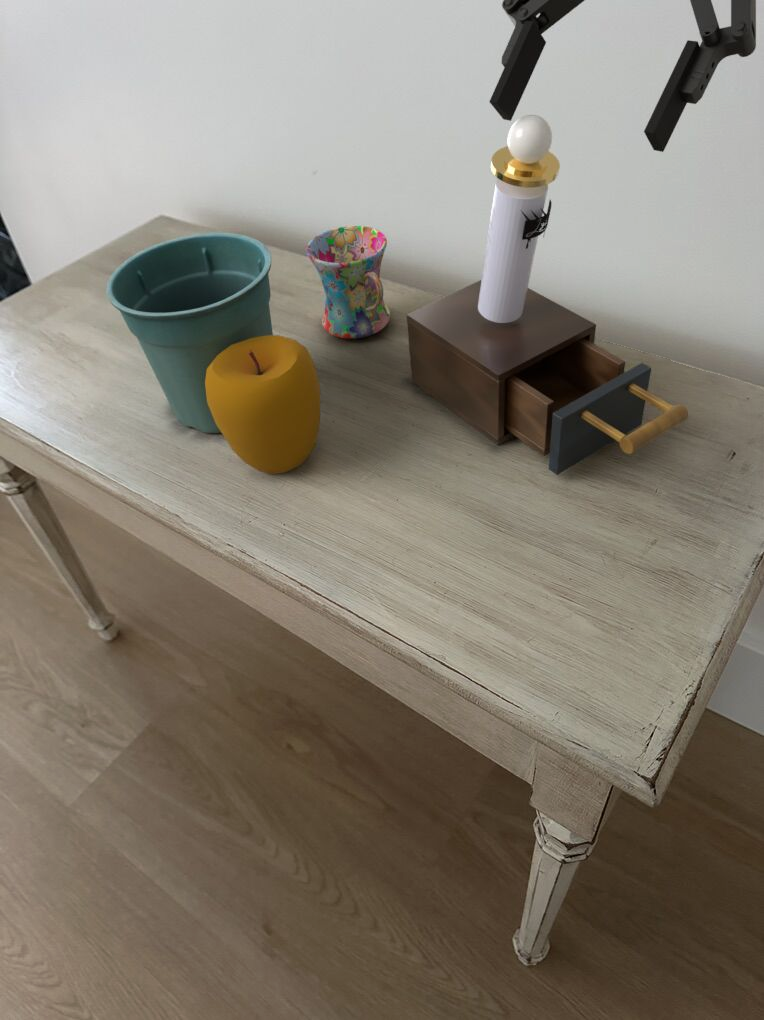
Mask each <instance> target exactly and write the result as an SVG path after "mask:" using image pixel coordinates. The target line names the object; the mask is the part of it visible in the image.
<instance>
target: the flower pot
mask: <svg viewBox="0 0 764 1020" xmlns="http://www.w3.org/2000/svg"><path fill="white" fill-rule="evenodd" d="M271 267H272V255H271V252H270V250H269V248H268V247H267V246H266V245H265V244H264V243H263V242H261V241H259V240H258V239H256V238H254V237H251V236H248V235H244V234H240V233H235V232H206V233H196V234H190V235H185V236H180V237H176V238H173V239H168V240H166V241H162V242H159V243H157V244H153V245H152V246H149V247H147V248H145V249H143V250H141V251H139V252H136V254H134V255H132V256H130V257H129V258H127V259H126V260H125V261H123V262H122V263H121V264H120V265H119V266H118V267H117V268H116V269H115V270H114V272H112V274H111V275H110V277H109V279H108V281H107V284H106V288H105V293H106V297H107V298H108V300H109V302H110V303H111V305H112V306H113V307H114V308H115V309H117V310H118V311H119V312H120V314H121V316H122V318H123V320H124V322H125V324H126V326H127V328H128V330H129V331H130V333H131V334H132V335H133V336H134V337H136V339H137V341H138V343H139V345H140V347H141V349H142V351H143V353H144V355H145V357H146V359H147V361H148V364H149V365H150V367H151V369H152V371H153V373H154V375H155V377H156V379H157V381H158V383H159V385H160V387H161V389H162V391H163V393H164V394H163V395H164V396H165V398H166V399H167V402H168V404H169V406H170V408H171V410H172V412H173V414H174V416H175V418H176V420H177V421H178V422H179V423H180V424H181V425H182V426H184V427H185V428H190V427H191V428H194V429H196V430H198V431H199V432H201V433H205V434H206V433H207V434H219V433H221V431H220V430H219V428H218V426H217V425H216V423H215V420H214V418H213V415H212V413H211V411H210V408H209V406H208V403H207V396H206V388H205V379H206V371H207V368H208V367H209V365H210V364H211V363H212V362H213V360H214V359H215V358H216V357H217V355H219V354H220V353H221V352H222V351H223V350H225V349H226V348H228V347H229V346H230V345H232V344H235V343H238V342H241V341H244V340H247V339H250V338H254V337H260V336H265V335H274V333H273V325H272V317H271V308H270V302H271V296H272V295H271V285H270V278H269V276H270V275H269V273H270V271H271Z"/></svg>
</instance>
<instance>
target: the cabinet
mask: <svg viewBox="0 0 764 1020" xmlns="http://www.w3.org/2000/svg"><path fill="white" fill-rule="evenodd" d="M481 280H482V279H480V280H478V281H475V282H473V283H472V284H469V285H467V286H465V287H463V288H460V289H458V290H456V291H454V292H452V293H450V294H448V295H446V296H443V297H441V298H439V299H437V300H435V301H433V302H430V303H428V304H426V305H423V306H422V307H420V308H417V309H416V310H413V311H411V312H409V313H407V314H406V325H407V336H408V337H407V339H408V352H409V360H410V361H409V362H410V375H411V382H412V383H413V384H415V385H416V386H417V387H419V388H420V389H421V390H423V391H424V392H425V393H427V394H428V395H429V396H431V397H432V398H433V399H435V400H436V401H437V402H439V403H440V404H442V405H443V406H444V407H445V408H446V409H448V410H449V411H451V412H452V413H454V414H455V415H456V416H457V417H459V418H460V419H462V420H463V421H464V422H466V423H467V424H469V425H470V426H471V427H472V428H473V429H475V430H476V431H478V432H479V433H481V434H482V435H483V436H485V437H486V438H488V439H489V440H490V441H492V443H494V444H495V445H497V446H500V445H501V444H503V443H505V442H506V441H509V440H510V439H512V438H514V437H516V436H515V435H513V434H512V433H511V432H509V431H508V430H506V429H505V428H504V406H505V379H506V378H508V377H510V376H511V375H513V374H515V373H517V372H519V371H521V370H523V369H525V368H527V367H528V366H530V365H532V364H534V363H536V362H538V361H540V360H542V359H544V358H546V357H547V356H549V355H551V354H553V353H555V352H557V351H559V350H561V349H563V348H564V347H566V346H568V345H570V344H572V343H574V342H576V341H578V340H580V339H582V338H585V339H586V340H588V341H590V342H592V343H594V344H595V340H596V339H595V338H596V331H597V324H596V323H595V322H593V321H590V320H589V319H587V318H585V317H583V316H581V315H579V314H578V313H576V312H574V311H572V310H570V309H568V308H566V307H564V306H563V305H561V304H559V303H557V302H555V301H553V300H552V299H550V298H548V297H546V296H544V295H542V294H540V293H539V292H536V291H535V290H533V289H531V288H529V287H528V289H527V294H526V299H525V304H524V309H523V313H522V315H521V316H520V317H519V318H518V319H517V320H515V321H512V322H508V323H497V322H493V321H490V320H488V319H486V318H484V317H483V316H482V315H481V314H480V313H479V310H478V301H479V294H480V287H481Z"/></svg>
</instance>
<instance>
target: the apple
mask: <svg viewBox="0 0 764 1020" xmlns="http://www.w3.org/2000/svg"><path fill="white" fill-rule="evenodd" d="M319 381H320V380H319V377H318V374H317V371H316V366H315V362H314V360H313V357H312V355H311V354H310V352H309V350H308V349H307V348H306V347H305V346H304V345H303V344H301V342H299V341H298V340H296V339H294V338H290V337H286V336H283V335H280V334H279V335H278V334H273V335H265V336H260V337H254V338H250V339H247V340H244V341H241V342H238V343H235V344H232V345H230V346H229V347H228V348H226V349H225V350H223V351H222V352H221V353H220V354H219V355H217V357H216V358H215V359H214V360H213V362H212V363H211V364H210V365H209V367H208V368H207V371H206V379H205V388H206V396H207V403H208V406H209V408H210V411H211V413H212V415H213V418H214V420H215V423H216V425H217V426H218V428H219V430H220V431H221V432H220V433H221V435H222V436H223V437H224V439H225V440H226V442H227V444H228V445H229V446H230V448H231V450H232V451H233V452H234V454H235V455H236V456H238V458H239V459H241V461H242V462H244V463H245V464H246V465H248V466H249V467H251V468H253V469H255V470H257V471H259V472H262V473H265V474H268V475H269V474H270V475H276V474H281V473H282V474H283V473H287V472H289V471H291V470H293V469H295V468H298V467H300V465H302V464H303V463H304V462H305V461H306V460H308V458H309V456H310V455H311V454H312V452H313V449H314V448H315V447H316V443H317V439H318V436H319V431H320V421H321V387H320V382H319Z"/></svg>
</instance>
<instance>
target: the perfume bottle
mask: <svg viewBox="0 0 764 1020" xmlns="http://www.w3.org/2000/svg"><path fill="white" fill-rule="evenodd" d="M552 132H553V131H552V129H551V126H550V125H549V123H548V121H547V120H545V118H543V117H542V116H540V115H537V114H526V115H523V116H521V117H519V118H518V119H516V120H515V122H514V123H513V124H512V125H511V127H510V129H509V131H508V134H507V140H506V141H507V146H503V147H501V148H499V149H498V150H496V151H495V152H494V153H493V154H492V156H491V161H490V170H491V172H492V174H493V176H494V177H496V179H495V182H494V183H495V185H494V191H493V196H492V197H493V198H492V205H491V211H490V218H489V219H490V220H489V226H488V232H487V238H486V239H487V240H486V246H485V252H484V253H485V254H484V260H483V265H482V266H483V267H482V274H481V279H480V280H481V287H480V294H479V301H478V310H479V313H480V314H481V315H482V316H483V317H484V318H486V319H488V320H490V321H493V322H497V323H508V322H512V321H515V320H517V319H518V318H519V317H520V316H521V315H522V313H523V309H524V304H525V299H526V294H527V289H528V288H529V284H530V279H531V274H532V268H533V264H534V258H535V254H536V249H537V246H538V245H537V244H538V239H539V236H541V235H542V234H543V237H542V238H543V239H544V238H545V233H546V230H547V228H548V225H549V220H550V215H551V210H552V199H549V200H548V201H549V202H548V206H547V210H546V212H545V211H544V210H545V204H546V200H547V199H546V198H547V197H548V190H549V184H551V183H553V182H555V180H556V179H557V178H558V176H559V173H560V169H561V168H560V167H561V164H560V160H559V159H558V157H557V156H556V155H555V154H554V153H552V152H551V151H550V149H551V146H552V142H553V133H552Z"/></svg>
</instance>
